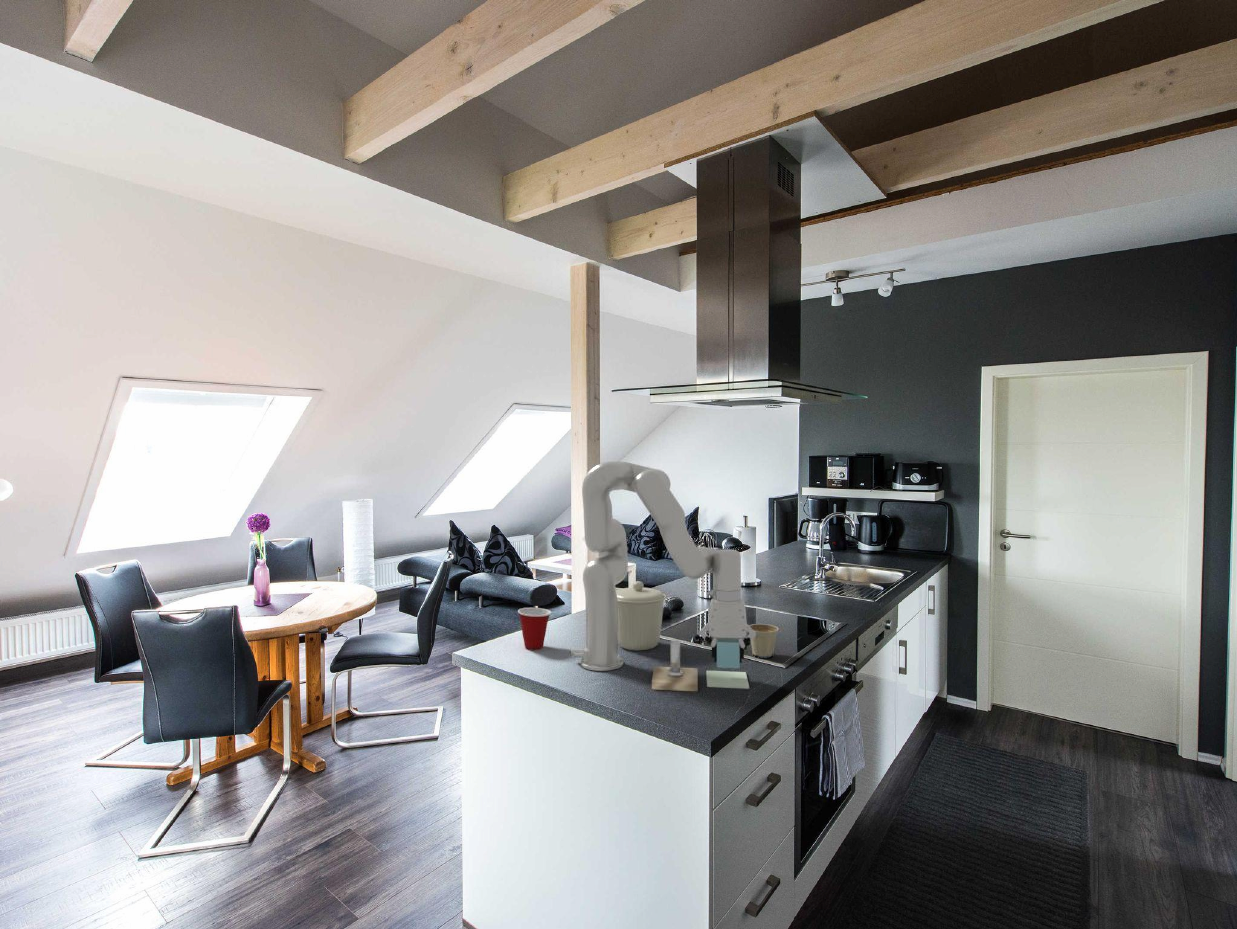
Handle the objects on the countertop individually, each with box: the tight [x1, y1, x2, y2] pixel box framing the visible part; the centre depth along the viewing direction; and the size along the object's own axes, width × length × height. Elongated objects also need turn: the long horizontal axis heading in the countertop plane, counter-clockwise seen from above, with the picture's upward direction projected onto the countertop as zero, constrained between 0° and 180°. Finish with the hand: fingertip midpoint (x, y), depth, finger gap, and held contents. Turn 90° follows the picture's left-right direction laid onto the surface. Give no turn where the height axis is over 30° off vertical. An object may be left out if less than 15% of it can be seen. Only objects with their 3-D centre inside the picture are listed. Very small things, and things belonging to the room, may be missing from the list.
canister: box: [616, 580, 667, 652], centre depth 202 cm, size 18×18×21 cm
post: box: [668, 639, 683, 677], centre depth 170 cm, size 4×4×9 cm
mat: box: [705, 670, 750, 690], centre depth 171 cm, size 11×11×1 cm
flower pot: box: [748, 623, 779, 656], centre depth 192 cm, size 9×9×9 cm
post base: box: [651, 666, 699, 692], centre depth 170 cm, size 12×12×2 cm
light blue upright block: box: [716, 638, 741, 669], centre depth 171 cm, size 6×6×7 cm
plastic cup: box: [517, 607, 552, 650], centre depth 201 cm, size 11×11×12 cm
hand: (727, 660), depth 171 cm, fingers closed on light blue upright block, 5 cm apart
